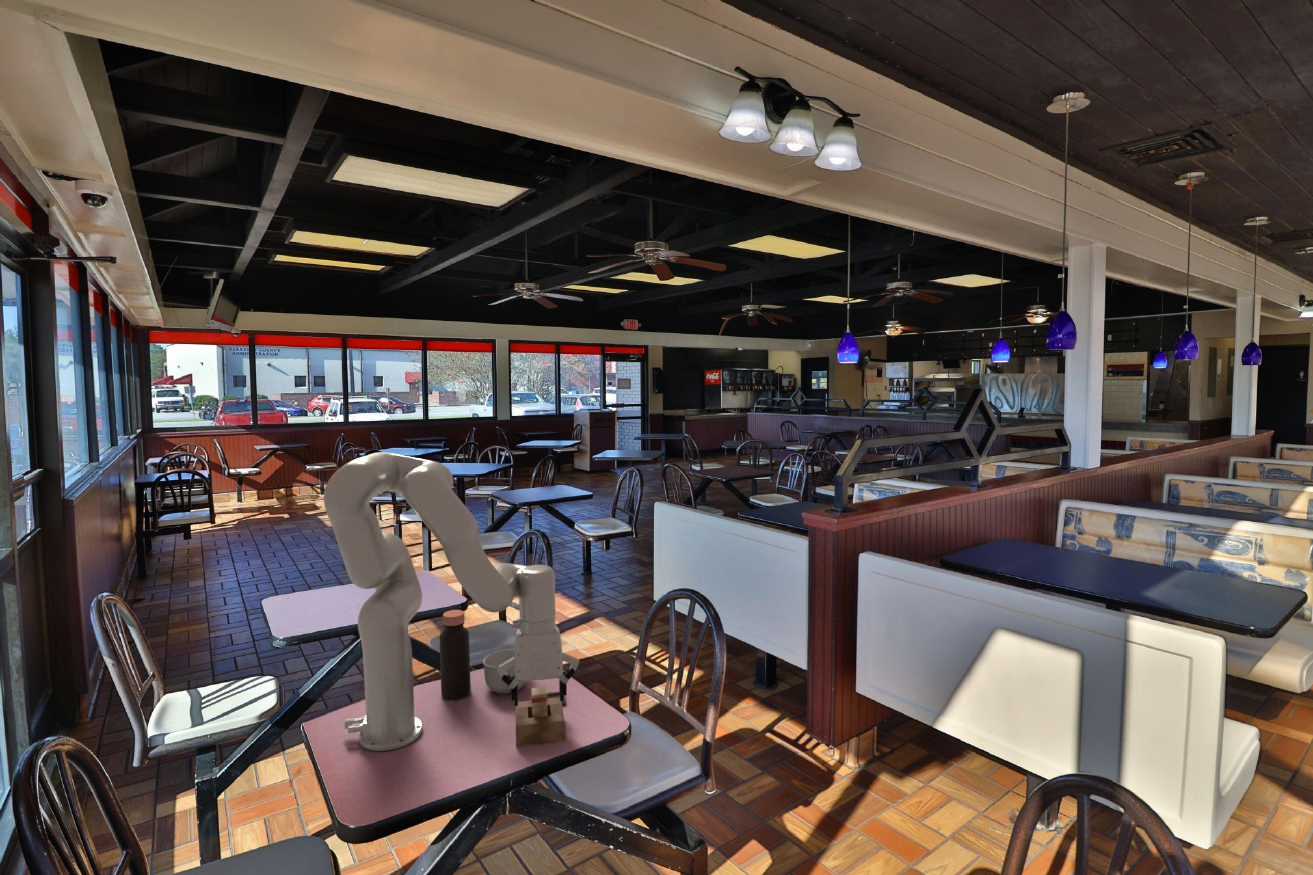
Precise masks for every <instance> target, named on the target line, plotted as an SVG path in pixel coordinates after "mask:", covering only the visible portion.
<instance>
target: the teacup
mask: <svg viewBox="0 0 1313 875" xmlns="http://www.w3.org/2000/svg"><path fill="white" fill-rule="evenodd" d="M513 657H514V648H506V649H501V650H500V649H499V650H497V651H494V652H491V653H489V654H487V655H486V656H485V657H484V658H483V659H482V664H483V669H484V670H483V671H484V673H483V674H484V681H485V684H486V686H487V687H488V688H489V689H490V690H491V691H493V692H495V693H497V694H502V695H504V694H506V695H507V694H511V688H510V687H509V686H508V685H507V684H506V683H505V682H503V681H502V678H501V677H500V675H499V674H498V672H497V666H499V665H500V664H502V663H504V662H506V661H507V660H509V659H511V658H513ZM505 671H506V673H507V674H508V675H510V676H511V677H512V676H513V674H514V666H512V667H510V668H508V669H507V670H505ZM526 682H527V681H520V682H519V683H518V690H520V689H521V688H522V686H524V685H525V684H526Z"/></svg>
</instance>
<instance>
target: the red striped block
mask: <svg viewBox="0 0 1313 875" xmlns="http://www.w3.org/2000/svg"><path fill="white" fill-rule="evenodd" d="M547 693H548V689H547V686H540V687H532V688H531V701H532V718H534V717H543V716H547V699H548V697H547Z"/></svg>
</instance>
